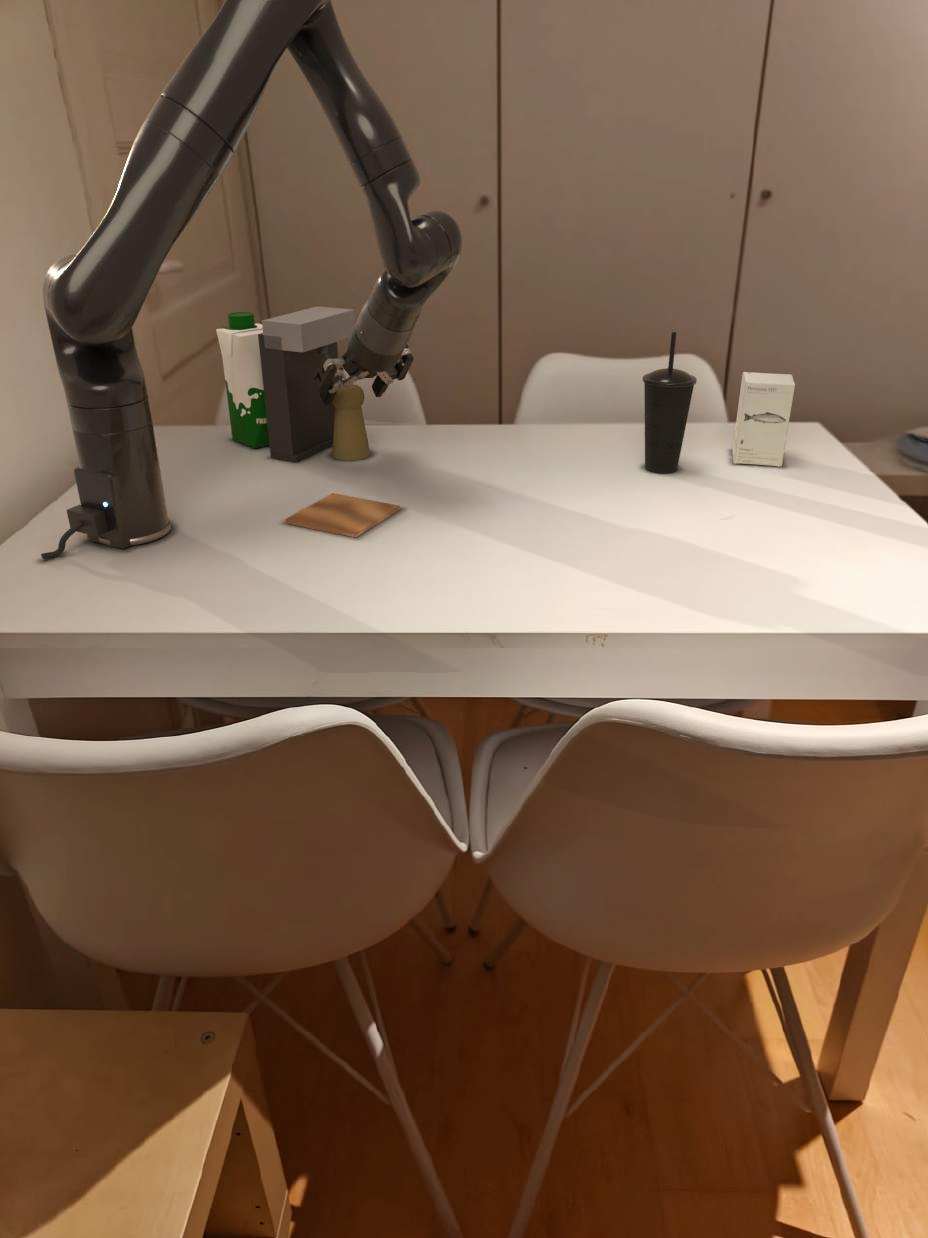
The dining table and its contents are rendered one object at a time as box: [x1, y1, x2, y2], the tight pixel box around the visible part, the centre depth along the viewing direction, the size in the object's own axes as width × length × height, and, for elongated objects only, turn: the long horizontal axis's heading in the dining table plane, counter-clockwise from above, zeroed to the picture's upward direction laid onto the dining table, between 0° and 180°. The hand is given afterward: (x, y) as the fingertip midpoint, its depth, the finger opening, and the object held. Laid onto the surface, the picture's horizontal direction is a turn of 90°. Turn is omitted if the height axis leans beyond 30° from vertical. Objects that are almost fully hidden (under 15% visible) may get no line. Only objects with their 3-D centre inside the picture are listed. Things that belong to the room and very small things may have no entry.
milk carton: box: [215, 311, 270, 449], centre depth 150 cm, size 9×9×20 cm
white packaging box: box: [731, 371, 796, 467], centre depth 141 cm, size 7×7×13 cm
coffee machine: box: [258, 306, 356, 463], centre depth 145 cm, size 14×8×21 cm, turn 153°
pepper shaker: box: [331, 383, 371, 462], centre depth 145 cm, size 6×6×11 cm
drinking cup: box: [642, 331, 698, 474], centre depth 136 cm, size 8×8×20 cm
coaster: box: [284, 492, 401, 538], centre depth 123 cm, size 11×11×1 cm
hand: (350, 396), depth 142 cm, fingers open, 8 cm apart
